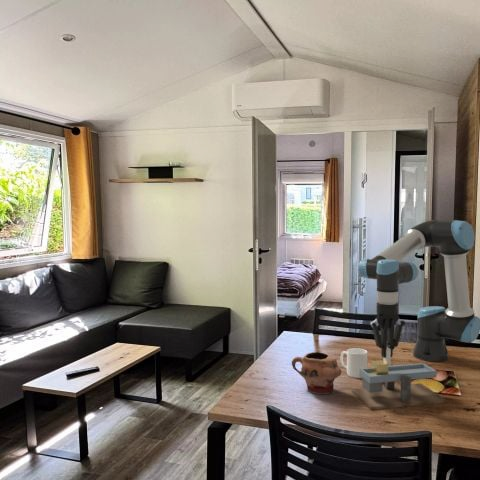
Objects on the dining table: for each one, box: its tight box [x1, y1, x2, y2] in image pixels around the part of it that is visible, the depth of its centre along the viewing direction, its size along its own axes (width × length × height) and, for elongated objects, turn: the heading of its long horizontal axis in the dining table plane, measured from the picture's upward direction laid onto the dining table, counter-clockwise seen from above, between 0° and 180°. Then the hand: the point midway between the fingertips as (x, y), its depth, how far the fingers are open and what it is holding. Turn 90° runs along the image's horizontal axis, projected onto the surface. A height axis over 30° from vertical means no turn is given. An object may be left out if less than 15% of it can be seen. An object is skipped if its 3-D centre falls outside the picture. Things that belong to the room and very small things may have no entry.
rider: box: [370, 359, 388, 375], centre depth 175 cm, size 4×4×4 cm
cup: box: [339, 347, 368, 379], centre depth 201 cm, size 8×12×10 cm
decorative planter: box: [291, 351, 342, 395], centre depth 184 cm, size 20×12×14 cm, turn 65°
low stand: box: [351, 364, 447, 411], centre depth 177 cm, size 29×16×10 cm, turn 100°
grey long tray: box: [360, 362, 437, 393], centre depth 176 cm, size 26×9×6 cm, turn 100°
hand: (386, 365), depth 175 cm, fingers closed
